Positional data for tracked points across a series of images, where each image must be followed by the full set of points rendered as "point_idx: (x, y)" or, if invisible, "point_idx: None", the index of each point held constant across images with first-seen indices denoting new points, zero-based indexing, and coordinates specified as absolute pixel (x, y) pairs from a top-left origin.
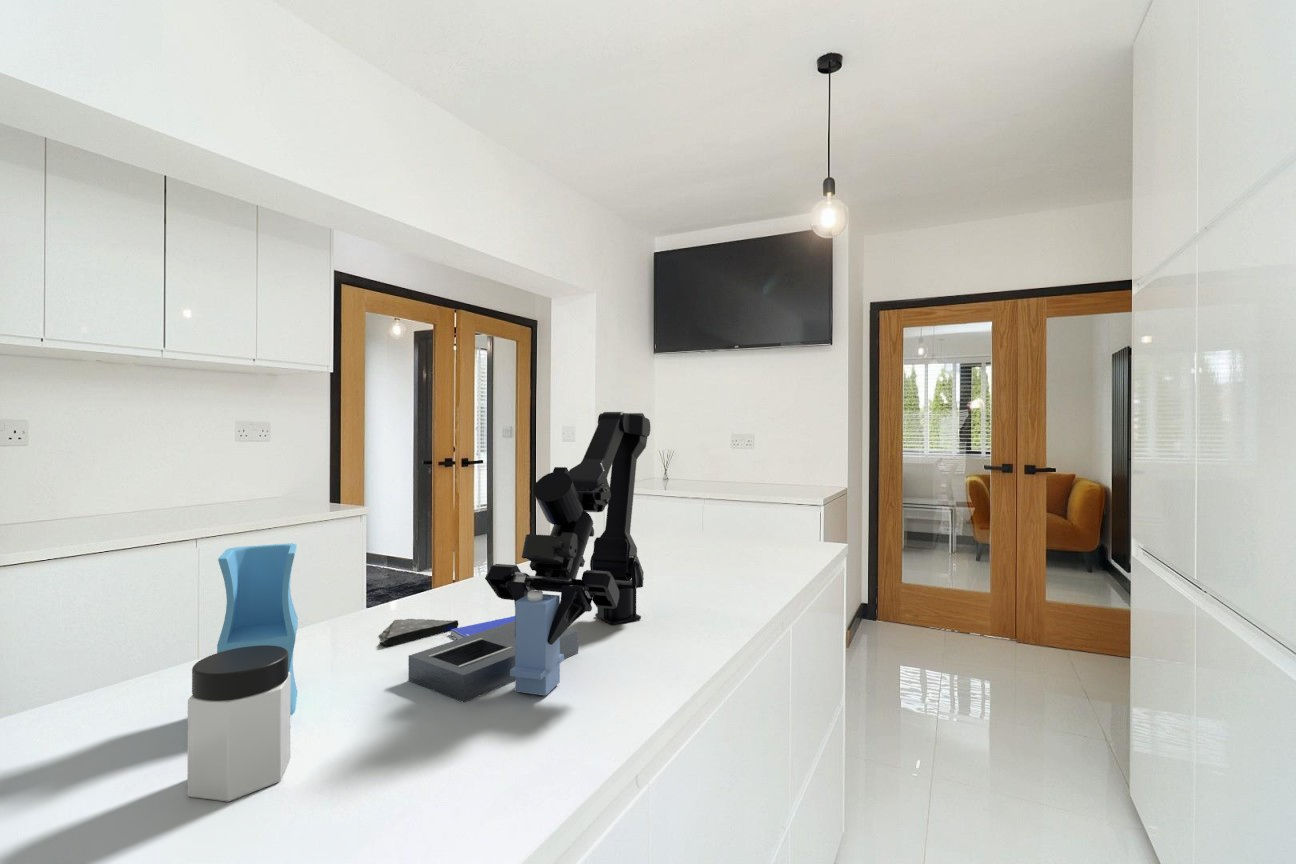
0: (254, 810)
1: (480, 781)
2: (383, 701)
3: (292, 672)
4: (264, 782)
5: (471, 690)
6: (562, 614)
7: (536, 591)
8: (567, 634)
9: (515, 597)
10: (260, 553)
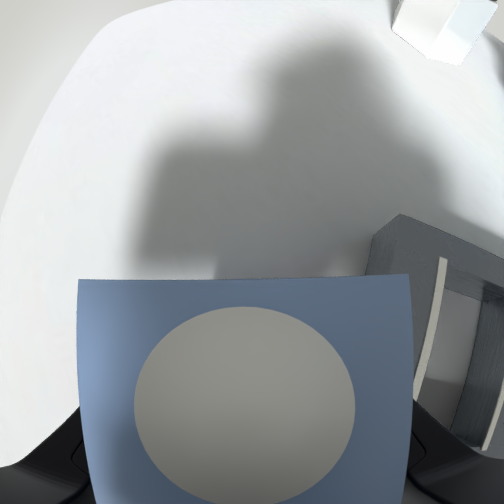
0: (365, 7)
1: (184, 53)
2: (484, 201)
3: None
4: (393, 21)
5: (377, 250)
6: (76, 411)
7: (255, 470)
8: None
9: (474, 459)
10: None
